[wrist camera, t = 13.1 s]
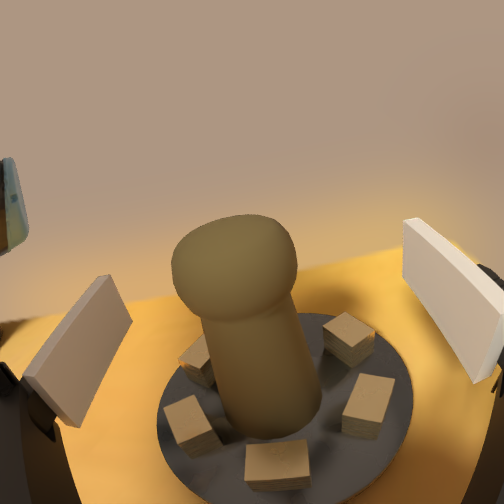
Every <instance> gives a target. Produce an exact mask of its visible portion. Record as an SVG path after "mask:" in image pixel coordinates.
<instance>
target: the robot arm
mask: <svg viewBox="0 0 504 504" xmlns="http://www.w3.org/2000/svg"><path fill="white" fill-rule="evenodd" d="M28 232H29V225H28V219H27V214H26V210H25V205H24V200H23V195H22V191H21V186H20V182H19V177H18V173H17V169H16V165H15V162H14V160H13V159H12V158H11V157H9V158H4V159H3V160H2V161H0V256H2V255H4V254H6V253H8V252H10V251H11V249H13V248H14V247H16V246H18V245H19V244H21V243H22V242H24V241H25V240H26V238H27V236H28ZM402 277H403V279H404V280H405V281H406V282H407V284H408V285H409V287H410V288H411V289H412V291H413V292H414V293H415V295H416V296H417V297H418V299H419V300H420V302H421V303H422V304H423V306H424V307H425V309H426V310H427V312H428V313H429V314H430V316H431V317H432V319H433V320H434V322H435V323H436V325H437V326H438V328H439V329H440V331H441V332H442V334H443V335H444V337H445V338H446V340H447V341H448V343H449V345H450V346H451V348H452V349H453V351H454V352H455V354H456V356H457V357H458V359H459V361H460V362H461V364H462V365H463V367H464V369H465V371H466V372H467V374H468V376H469V377H470V379H471V381H472V383H473V384H475V383H477V382H479V381H481V380H483V379H486V378H488V377H490V376H491V375H492V373H493V371H494V369H495V366H496V364H497V363H498V364H499V366H500V367H501V369H502V371H501V373H500V375H499V377H498V379H497V381H496V383H495V384H494V386H493V388H492V391H491V393H494V391H495V389H496V388H497V391H496V396H495V401H494V406H493V410H492V415H491V419H490V423H489V427H488V430H487V434H486V438H485V441H484V444H483V448H482V451H481V454H480V457H479V460H478V463H477V466H476V468H475V471H474V474H473V476H472V479H471V481H470V484H469V486H468V489H467V491H466V493H465V496H464V498H463V500H462V502H461V504H504V281H503V280H502V279H500V277H499V276H498V275H497V274H496V273H494V272H493V271H492V270H491V269H489V268H487V267H485V266H483V265H481V264H477V265H476V264H474V263H473V262H472V261H471V260H470V259H469V258H468V257H467V256H465V255H464V254H463V253H462V252H461V251H460V250H458V249H457V248H456V247H455V246H454V245H452V244H451V243H450V242H449V241H448V240H446V239H445V238H444V237H443V236H441V235H440V234H439V233H437V232H436V231H435V230H434V229H433V228H431V227H430V226H428V225H427V224H426V223H424V222H423V221H422V220H421V219H419V218H413V219H407V220H403V270H402ZM132 322H133V321H132V319H131V317H130V315H129V313H128V311H127V309H126V307H125V305H124V303H123V301H122V299H121V297H120V294H119V293H118V291H117V288H116V286H115V284H114V282H113V279H112V277H111V275H104V276H99V277H98V278H97V279H96V280H95V281H94V282H93V283H92V284H91V286H90V287H89V288H88V289H87V290H86V291H85V293H84V294H83V295H82V296H81V297H80V299H79V300H78V301H77V302H76V304H75V305H74V306H73V307H72V308H71V310H70V311H69V312H68V313H67V315H66V316H65V317H64V318H63V320H62V321H61V322H60V323H59V325H58V326H57V327H56V329H55V330H54V331H53V333H52V334H51V335H50V337H49V338H48V339H47V341H46V342H45V343H44V345H43V346H42V347H41V349H40V350H39V351H38V353H37V354H36V356H35V357H34V358H33V360H32V361H31V363H30V364H29V366H28V367H27V368H26V370H25V371H24V373H23V374H22V378H21V379H20V381H19V380H18V379H17V378H16V377H15V375H14V374H13V373H12V371H11V370H10V369H9V367H8V366H7V365H6V363H4V362H0V504H82V503H81V500H80V498H79V495H78V492H77V489H76V486H75V483H74V480H73V477H72V474H71V471H70V467H69V464H68V460H67V457H66V453H65V449H64V445H63V441H62V437H61V432H60V428H59V426H58V424H57V423H56V422H55V421H54V420H55V418H56V416H58V417H59V418H60V419H61V420H62V421H63V422H64V424H65V425H67V426H72V427H77V428H80V427H81V424H82V422H83V420H84V418H85V415H86V413H87V411H88V409H89V407H90V405H91V402H92V400H93V398H94V396H95V394H96V392H97V390H98V388H99V386H100V384H101V382H102V380H103V378H104V375H105V373H106V371H107V369H108V367H109V365H110V364H111V362H112V360H113V358H114V356H115V354H116V352H117V350H118V348H119V346H120V344H121V342H122V340H123V338H124V337H125V335H126V333H127V331H128V329H129V327H130V325H131V324H132ZM1 336H2V328H1V326H0V339H1Z"/></svg>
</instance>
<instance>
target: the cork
mask: <svg viewBox="0 0 504 504" xmlns="http://www.w3.org/2000/svg"><path fill="white" fill-rule="evenodd" d="M171 265H172V275H173V284H174V286H175V289H176V291H177V294H178V296H179V297H180V298H181V300H182V301H183V302H184V304H185V305H186V306H187V307H188V308H189V309H190V310H191V311H192V312H193V313H194V314H195V315H197V316H199V317H200V318H201V322H202V326H203V331H204V335H205V339H206V344H207V348H208V352H209V356H210V360H211V364H212V368H213V372H214V376H215V380H216V384H217V387H218V391H219V395H220V399H221V402H222V406H223V409H224V413H225V416H226V419H227V421H228V422H229V423H230V424H231V426H232V427H233V428H234V429H235V430H236V431H238V432H240V433H242V434H243V435H245V436H247V437H251V438H256V439H261V440H270V439H280V438H284V437H286V436H289V435H291V434H294V433H296V432H298V431H300V430H301V429H302V428H304V427H305V426H306V425H307V424H309V423H310V422H311V421H312V420H313V418H314V417H315V415H316V414H317V412H318V411H319V409H320V405H321V401H322V391H321V385H320V382H319V379H318V375H317V372H316V369H315V366H314V363H313V360H312V357H311V354H310V351H309V348H308V345H307V342H306V339H305V336H304V333H303V330H302V327H301V324H300V321H299V318H298V315H297V312H296V309H295V306H294V303H293V300H292V297H291V294H290V292H291V290H292V288H293V285H294V283H295V280H296V275H297V267H298V265H297V258H296V251H295V247H294V244H293V242H292V240H291V237H290V235H289V233H288V232H287V231H286V230H285V228H284V227H283V226H282V225H281V224H280V223H278V222H277V221H276V220H274V219H272V218H268V217H265V216H261V215H249V214H248V215H237V216H232V217H226V218H222V219H219V220H216V221H212V222H210V223H207V224H205V225H202V226H200V227H198V228H197V229H195V230H193V231H191V232H190V233H189V234H187V235H186V236H185V237H184V238H183V239H182V240H181V241H180V242H179V243H178V245H177V247H176V248H175V250H174V252H173V257H172V261H171Z"/></svg>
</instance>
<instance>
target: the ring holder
mask: <svg viewBox="0 0 504 504" xmlns="http://www.w3.org/2000/svg"><path fill="white" fill-rule="evenodd" d="M297 315H298V318H299V321H300V324H301V327H302V330H303V333H304V336H305V339H306V342H307V345H308V348H309V351H310V354H311V357H312V360H313V363H314V366H315V369H316V372H317V375H318V379H319V382H320V385H321V391H322V401H321V405H320V409H319V411H318V412H317V414H316V415H315V417H314V418H313V420H312V421H311V422H310V423H309V424H307V425H306V426H305V427H304V428H302V429H301V430H300V431H298V432H296V433H294V434H291V435H289V436H286V437H284V438H280V439H270V440H261V439H256V438H251V437H247V436H245V435H243V434H242V433H240V432H238V431H236V430H235V429H234V428H233V427H232V426H231V424H230V423H229V422H228V421H227V419H226V416H225V413H224V409H223V406H222V402H221V399H220V395H219V391H218V387H217V384H216V380H215V376H214V372H213V368H212V364H211V360H210V356H209V352H208V348H207V344H206V339H205V335H204V334H203V335H202V336H201V337H200V338H199V339H198V340H197V341H196V342H195V343H194V344H193V345H192V346H191V347H190V348H189V349H187V350H186V351H185V352H184V353H183V354H182V355H181V356H180V357H179V358H178V361H179V363H180V364H181V365H180V367H179V368H178V369H177V370H176V372H175V373H174V374H173V376H172V377H171V379H170V380H169V382H168V384H167V386H166V388H165V390H164V392H163V395H162V397H161V400H160V404H159V408H158V413H157V434H158V440H159V444H160V448H161V451H162V453H163V455H164V458H165V460H166V462H167V464H168V465H169V467H170V468H171V470H172V471H173V472H174V474H175V475H176V476H177V477H178V479H179V480H180V481H181V482H182V483H183V484H184V485H185V486H186V487H188V488H189V489H190V490H191V491H193V492H194V493H195V494H197V495H198V496H199V497H201V498H202V499H204V500H205V501H207V502H208V503H210V504H343V503H345V502H347V501H349V500H350V499H352V498H353V497H355V496H357V495H358V494H360V493H361V492H363V491H364V490H365V489H367V488H368V487H369V486H370V485H371V484H372V483H373V482H374V481H376V480H377V479H378V478H379V477H380V476H381V475H382V473H383V472H384V471H385V470H386V469H387V467H388V466H389V465H390V464H391V462H392V461H393V459H394V457H395V456H396V454H397V452H398V451H399V449H400V447H401V445H402V443H403V440H404V438H405V435H406V433H407V430H408V427H409V424H410V420H411V415H412V409H413V392H412V386H411V380H410V377H409V374H408V371H407V368H406V366H405V365H404V363H403V361H402V359H401V357H400V356H399V355H398V353H397V352H396V351H395V349H394V348H393V347H392V346H391V345H390V344H389V343H388V342H387V341H386V340H385V339H384V338H382V337H381V336H379V335H378V334H377V333H375V330H374V329H372V328H371V327H369V326H367V325H366V324H364V323H363V322H361V321H359V320H358V319H356V318H355V317H353V316H351V315H350V314H348V313H347V312H344V313H342V314H340V315H339V316H337V317H335V316H330V315H323V314H312V313H297Z"/></svg>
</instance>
